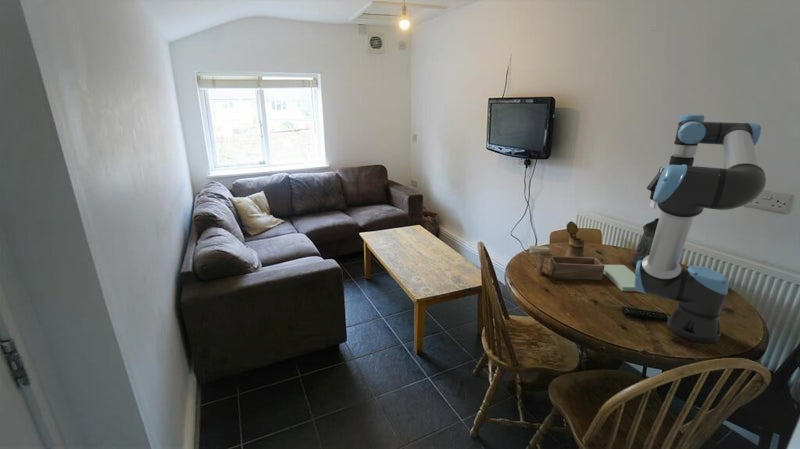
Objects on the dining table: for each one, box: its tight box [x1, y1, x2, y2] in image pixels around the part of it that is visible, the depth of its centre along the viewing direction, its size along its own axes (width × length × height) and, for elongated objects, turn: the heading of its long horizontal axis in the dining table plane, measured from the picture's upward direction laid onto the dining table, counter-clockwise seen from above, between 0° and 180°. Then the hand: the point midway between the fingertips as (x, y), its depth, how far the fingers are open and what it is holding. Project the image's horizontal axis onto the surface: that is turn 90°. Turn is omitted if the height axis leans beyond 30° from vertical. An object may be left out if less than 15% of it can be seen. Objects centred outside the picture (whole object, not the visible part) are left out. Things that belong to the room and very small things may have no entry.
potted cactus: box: [564, 220, 585, 257], centre depth 194 cm, size 9×14×18 cm, turn 4°
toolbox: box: [536, 252, 605, 281], centre depth 177 cm, size 10×28×10 cm, turn 85°
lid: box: [603, 264, 638, 292], centre depth 174 cm, size 12×23×2 cm, turn 177°
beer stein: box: [631, 218, 659, 269], centre depth 181 cm, size 16×19×25 cm
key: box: [528, 245, 550, 255], centre depth 177 cm, size 3×8×3 cm, turn 85°
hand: (669, 208), depth 154 cm, fingers open, 13 cm apart
